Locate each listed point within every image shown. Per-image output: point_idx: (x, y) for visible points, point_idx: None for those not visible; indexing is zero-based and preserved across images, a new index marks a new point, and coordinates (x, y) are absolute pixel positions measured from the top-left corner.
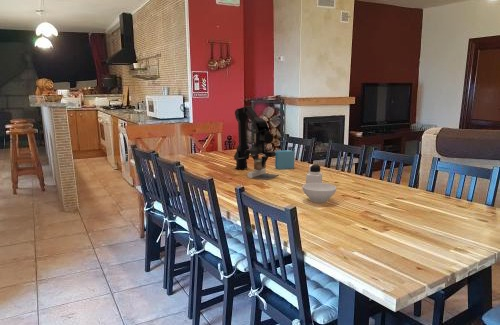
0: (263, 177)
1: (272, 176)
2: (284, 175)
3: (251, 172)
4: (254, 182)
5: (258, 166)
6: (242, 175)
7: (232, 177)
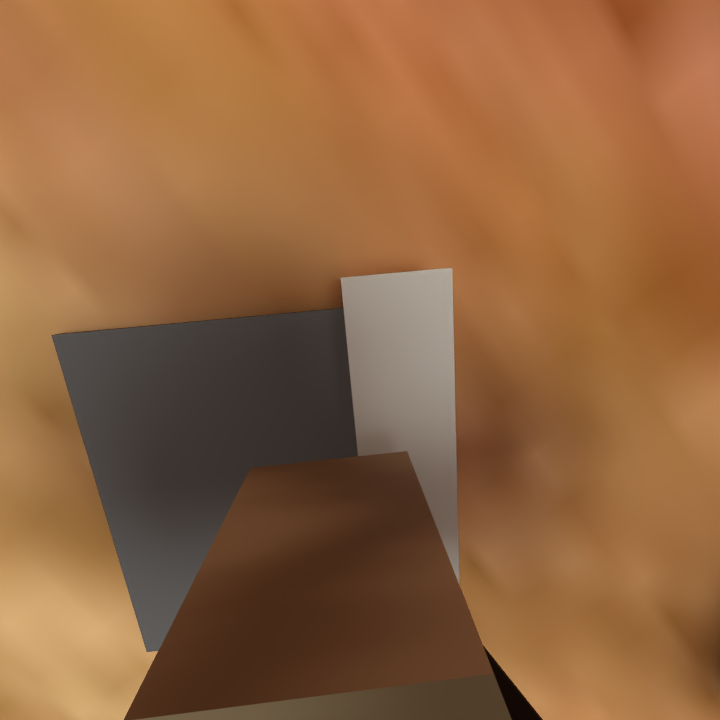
0: (203, 414)
1: (150, 545)
2: (105, 693)
3: (394, 338)
4: (77, 24)
5: (261, 525)
6: (576, 344)
7: (647, 108)
